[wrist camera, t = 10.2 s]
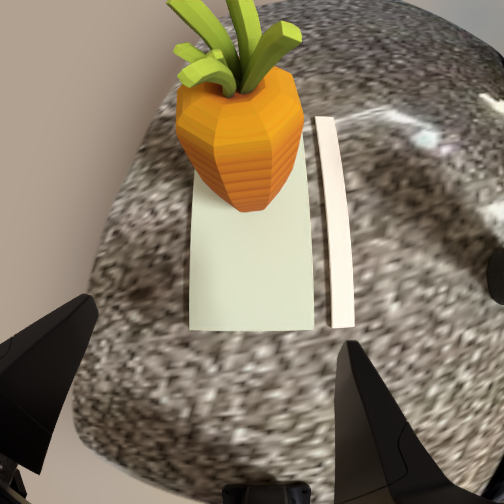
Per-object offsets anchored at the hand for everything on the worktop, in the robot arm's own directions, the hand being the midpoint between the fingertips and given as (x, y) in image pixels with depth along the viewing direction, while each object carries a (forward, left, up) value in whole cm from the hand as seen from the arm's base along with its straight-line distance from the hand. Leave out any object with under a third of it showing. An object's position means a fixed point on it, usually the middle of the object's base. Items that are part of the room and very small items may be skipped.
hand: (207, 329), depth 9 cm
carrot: (+8, -1, -9) cm, 12 cm away
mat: (+7, -1, -10) cm, 12 cm away
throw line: (+7, -7, -10) cm, 14 cm away
